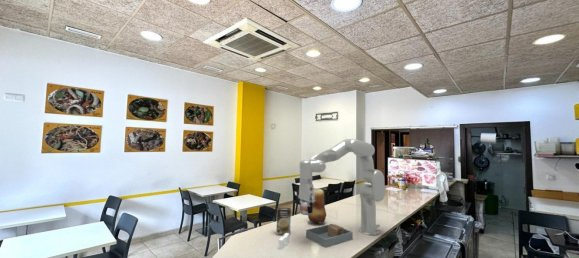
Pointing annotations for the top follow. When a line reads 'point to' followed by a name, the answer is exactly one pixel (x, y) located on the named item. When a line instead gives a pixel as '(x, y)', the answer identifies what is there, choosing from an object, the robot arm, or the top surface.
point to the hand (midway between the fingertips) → (306, 211)
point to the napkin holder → (284, 241)
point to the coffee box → (283, 220)
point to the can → (304, 208)
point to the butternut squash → (318, 207)
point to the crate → (322, 236)
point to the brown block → (335, 230)
